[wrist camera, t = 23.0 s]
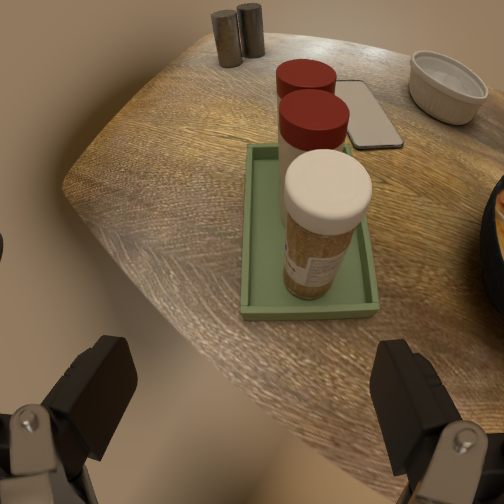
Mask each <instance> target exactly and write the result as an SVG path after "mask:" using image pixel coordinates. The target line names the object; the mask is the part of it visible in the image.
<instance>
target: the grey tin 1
mask: <svg viewBox="0 0 504 504" xmlns="http://www.w3.org/2000/svg"><path fill="white" fill-rule="evenodd" d="M211 19H212V24H213V31H214V36H215V42H216V48H217V53H218V59H219V64H220V66H221V67H225V68H232V67H236V66H239V65H240V64H242V62H243V60H242V52H241V44H240V36H239V28H238V20H237V12H236V11H234V10H222V11H218V12H215V13H213V14H211Z"/></svg>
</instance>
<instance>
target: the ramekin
mask: <svg viewBox="0 0 504 504" xmlns="http://www.w3.org/2000/svg"><path fill="white" fill-rule="evenodd" d="M410 65H411V71H410V80H409V90H410V93H411V96H412V98H413V100H414V101H415V103H416V104H417V105H418V106H419V107H420V108H421V109H422V110H423V111H425V112H426V113H428V114H429V115H431V116H432V117H434V118H436V119H438V120H440V121H442V122H445V123H448V124H452V125H462V124H466V123H468V122H469V121H471V120H472V118H473V117H474V116H475V114H476V113H477V111H478V110H479V108H480V107H481V105H482V104H483V103H485V101H486V99H487V97H488V89H487V87H486V85H485V84H484V82H483V81H482V80H481V79H480V78H479V77H478V76H477V75H476V74H475V73H474V72H473V71H471V70H470V69H469V68H468V67H466V66H465V65H463V64H461V63H460V62H458V61H456V60H454V59H452V58H450V57H448V56H445V55H443V54H439V53H436V52H432V51H417V52H415V53H413V55H412V57H411V60H410Z"/></svg>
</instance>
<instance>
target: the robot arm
mask: <svg viewBox="0 0 504 504" xmlns="http://www.w3.org/2000/svg"><path fill="white" fill-rule="evenodd" d="M137 381H138V377H137V372H136V368H135V365H134V363H133V359H132V356H131V353H130V349H129V346H128V343H127V341H126V339H125V338H123V337H115V336H107V335H103V336H101V337H100V338H99V340H98V341H97V342H96V343H95V345H94V346H93V347H92V348H89V349H87V350H86V351H84V352H83V353H81V354H80V355H78V356H77V358H76V359H75V360H74V362H73V363H72V364H71V365H70V368H68V369H67V370H66V372H65V373H64V376H62V377H61V378H60V379H59V381H58V382H57V383H56V384H55V386H54V387H53V389H52V390H51V391H50V392H49V394H48V395H47V396H46V398H45V399H44V400H43V402H42V403H41V404H40V405H39V404H28V405H25V406H22V407H21V408H19V409H18V410H16V412H15V413H14V414H13V415H9V414H0V504H98V501H97V498H96V496H95V493H94V490H93V487H92V484H91V480H90V477H89V474H88V470H87V468H86V466H85V464H84V463H85V461H86V459H87V457H88V458H91V459H94V460H97V461H101V459H102V457H103V455H104V453H105V451H106V449H107V446H108V444H109V442H110V440H111V438H112V436H113V434H114V432H115V430H116V428H117V426H118V424H119V422H120V420H121V418H122V416H123V414H124V412H125V410H126V408H127V406H128V404H129V402H130V400H131V398H132V396H133V394H134V392H135V390H136V387H137ZM370 395H371V398H372V401H373V405H374V408H375V411H376V414H377V418H378V421H379V424H380V428H381V431H382V435H383V438H384V442H385V445H386V449H387V452H388V456H389V460H390V463H391V467H392V471H393V475H394V476H399V475H403V474H407V477H408V480H409V481H408V483H407V484H406V486H405V488H404V490H403V492H402V493H401V495H400V497H399V499H398V501H397V503H396V504H504V433H493V434H486V433H485V431H484V430H483V429H482V428H481V427H480V426H479V425H477V424H476V423H474V422H471V421H466V420H462V418H461V416H460V414H459V412H458V410H457V408H456V407H455V405H454V403H453V401H452V399H451V397H450V396H449V394H448V392H447V390H446V388H445V387H444V385H442V381H441V380H440V378H439V376H437V373H436V371H435V369H434V368H433V366H432V364H431V363H430V362H429V361H428V360H427V359H426V358H424V357H423V356H422V355H421V354H419V353H414V354H413V353H412V351H411V349H410V348H409V346H408V344H407V342H406V341H405V340H404V339H397V340H386V341H380V343H379V345H378V348H377V353H376V357H375V361H374V365H373V369H372V373H371V377H370Z"/></svg>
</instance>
